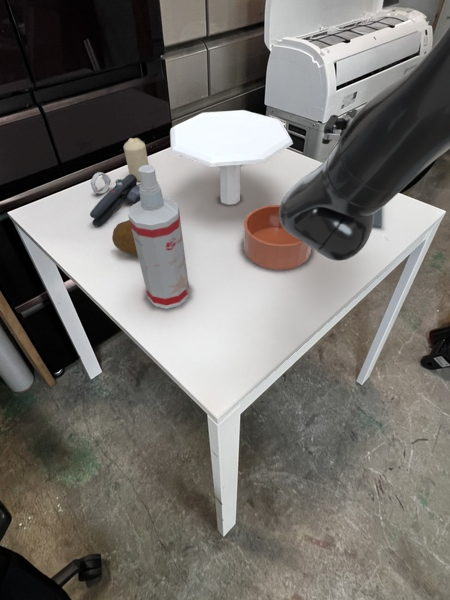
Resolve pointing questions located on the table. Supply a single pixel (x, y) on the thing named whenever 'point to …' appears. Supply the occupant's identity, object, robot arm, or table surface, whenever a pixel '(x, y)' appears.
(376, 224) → the square plate
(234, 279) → the table surface
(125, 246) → the potato
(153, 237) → the spray bottle
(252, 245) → the bowl
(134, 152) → the candle
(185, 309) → the table surface
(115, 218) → the table surface
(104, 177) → the wristwatch
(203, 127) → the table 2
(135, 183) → the can opener
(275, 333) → the table surface
